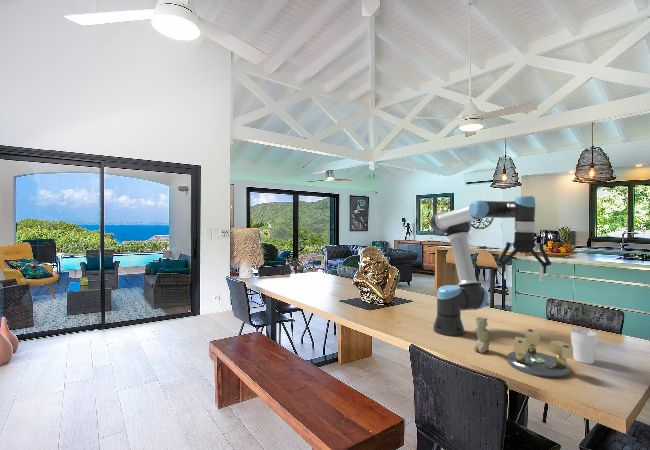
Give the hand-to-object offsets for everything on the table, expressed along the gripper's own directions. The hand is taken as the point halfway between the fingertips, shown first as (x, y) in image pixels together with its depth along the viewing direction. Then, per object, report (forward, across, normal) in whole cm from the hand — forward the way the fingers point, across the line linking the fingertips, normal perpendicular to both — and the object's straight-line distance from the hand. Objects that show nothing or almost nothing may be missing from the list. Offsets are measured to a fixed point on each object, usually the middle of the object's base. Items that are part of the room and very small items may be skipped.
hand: (523, 280), depth 149 cm
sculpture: (+32, +16, +4) cm, 36 cm away
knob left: (+30, +4, +17) cm, 34 cm away
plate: (+32, -3, +13) cm, 35 cm away
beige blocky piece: (+30, -3, +5) cm, 30 cm away
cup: (+32, -23, +1) cm, 39 cm away
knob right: (+30, -10, +17) cm, 36 cm away
